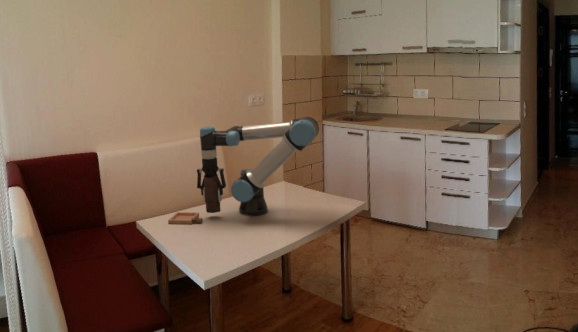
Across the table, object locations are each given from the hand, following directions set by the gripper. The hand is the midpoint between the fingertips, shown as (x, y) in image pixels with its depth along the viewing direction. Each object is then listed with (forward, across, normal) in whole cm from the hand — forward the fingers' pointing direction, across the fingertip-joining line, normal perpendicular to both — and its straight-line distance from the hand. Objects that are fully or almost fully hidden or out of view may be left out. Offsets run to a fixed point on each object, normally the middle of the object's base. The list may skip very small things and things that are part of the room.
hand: (212, 201), depth 266 cm
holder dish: (+9, +15, +4) cm, 18 cm away
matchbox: (+9, +7, +8) cm, 14 cm away
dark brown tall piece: (+6, 0, 0) cm, 6 cm away
